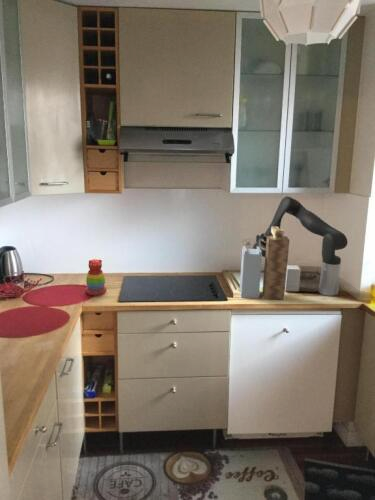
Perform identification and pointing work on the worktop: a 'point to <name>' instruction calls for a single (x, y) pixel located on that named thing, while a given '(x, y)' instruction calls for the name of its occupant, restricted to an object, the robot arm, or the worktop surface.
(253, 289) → the holder
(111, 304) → the worktop surface
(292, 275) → the supplement box
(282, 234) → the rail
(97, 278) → the stacking bear
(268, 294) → the walnut block
